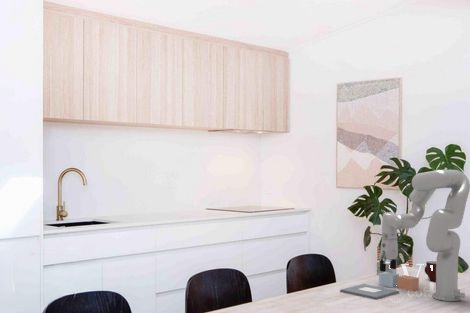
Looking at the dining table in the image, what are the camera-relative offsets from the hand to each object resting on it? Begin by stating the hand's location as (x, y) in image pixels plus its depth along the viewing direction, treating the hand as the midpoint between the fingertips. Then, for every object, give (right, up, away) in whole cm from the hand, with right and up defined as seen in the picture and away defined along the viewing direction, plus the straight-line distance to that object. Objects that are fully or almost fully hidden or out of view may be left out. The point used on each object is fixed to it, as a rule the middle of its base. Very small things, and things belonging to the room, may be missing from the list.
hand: (387, 269), depth 302 cm
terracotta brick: (+8, -8, -9) cm, 14 cm away
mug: (+27, -8, +12) cm, 31 cm away
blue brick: (0, -8, -1) cm, 8 cm away
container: (+6, -8, +25) cm, 27 cm away
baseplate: (-13, -7, -18) cm, 24 cm away
